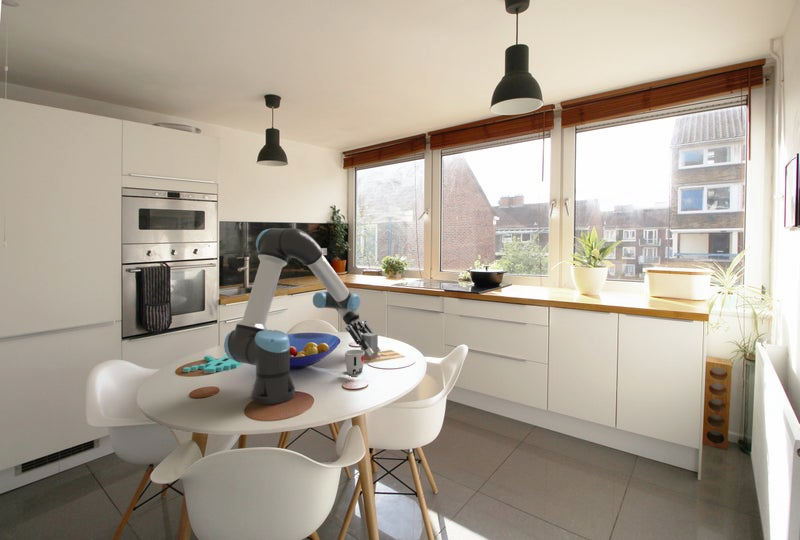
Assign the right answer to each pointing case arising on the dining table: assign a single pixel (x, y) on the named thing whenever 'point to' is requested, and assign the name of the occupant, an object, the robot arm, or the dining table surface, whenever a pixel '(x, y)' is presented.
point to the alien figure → (215, 364)
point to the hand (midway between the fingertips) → (375, 352)
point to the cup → (354, 361)
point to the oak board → (384, 356)
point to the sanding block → (371, 345)
